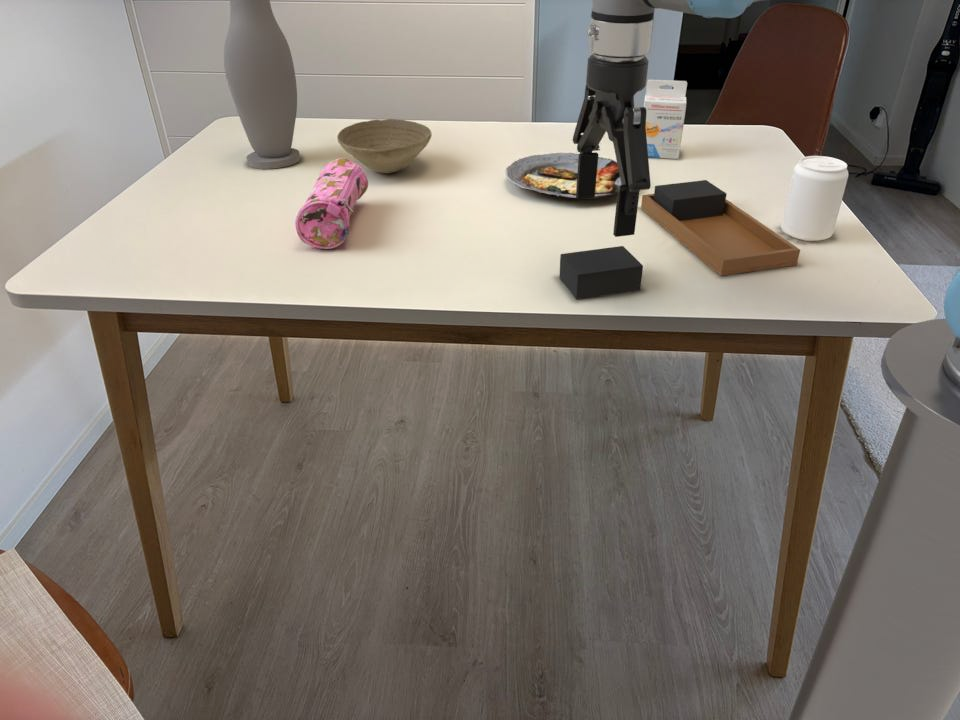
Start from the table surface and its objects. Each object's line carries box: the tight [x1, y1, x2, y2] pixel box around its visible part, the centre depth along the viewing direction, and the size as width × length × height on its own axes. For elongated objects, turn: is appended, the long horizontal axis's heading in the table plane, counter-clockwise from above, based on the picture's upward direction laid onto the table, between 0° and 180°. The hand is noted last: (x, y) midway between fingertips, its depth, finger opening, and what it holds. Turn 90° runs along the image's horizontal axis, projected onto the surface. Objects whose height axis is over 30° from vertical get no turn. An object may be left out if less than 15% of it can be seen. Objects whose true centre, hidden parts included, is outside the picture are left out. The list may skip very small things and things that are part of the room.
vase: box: [223, 0, 301, 170], centre depth 150 cm, size 13×13×35 cm
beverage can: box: [780, 155, 849, 242], centre depth 122 cm, size 8×8×12 cm
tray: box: [640, 193, 801, 277], centre depth 125 cm, size 28×13×3 cm, turn 15°
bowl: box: [336, 118, 432, 174], centre depth 151 cm, size 18×18×8 cm
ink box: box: [643, 79, 688, 160], centre depth 156 cm, size 8×5×15 cm, turn 78°
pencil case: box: [294, 157, 369, 250], centre depth 128 cm, size 21×9×9 cm, turn 179°
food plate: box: [505, 152, 621, 200], centre depth 145 cm, size 25×23×4 cm
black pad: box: [558, 245, 644, 300], centre depth 110 cm, size 7×10×4 cm
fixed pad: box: [653, 179, 727, 221], centre depth 131 cm, size 7×10×4 cm
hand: (603, 215), depth 106 cm, fingers open, 13 cm apart
